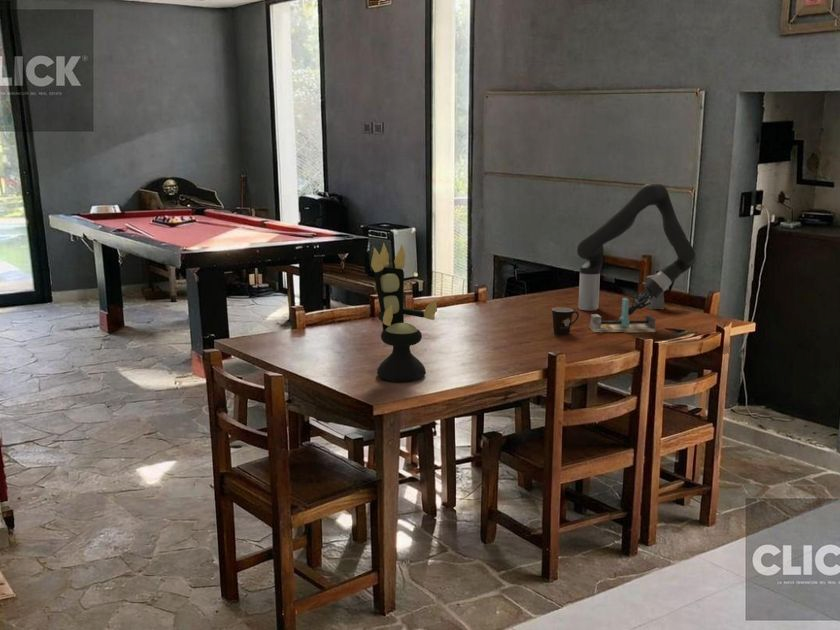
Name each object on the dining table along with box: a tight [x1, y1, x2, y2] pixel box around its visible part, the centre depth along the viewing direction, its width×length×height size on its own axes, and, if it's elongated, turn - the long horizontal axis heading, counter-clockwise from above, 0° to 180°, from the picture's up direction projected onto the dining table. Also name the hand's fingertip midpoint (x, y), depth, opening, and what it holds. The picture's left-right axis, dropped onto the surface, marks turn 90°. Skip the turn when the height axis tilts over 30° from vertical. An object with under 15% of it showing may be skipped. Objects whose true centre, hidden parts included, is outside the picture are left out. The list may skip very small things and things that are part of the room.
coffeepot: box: [643, 270, 676, 310], centre depth 400 cm, size 15×9×18 cm, turn 98°
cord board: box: [588, 313, 656, 334], centre depth 357 cm, size 26×8×6 cm, turn 94°
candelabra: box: [370, 242, 438, 383], centre depth 287 cm, size 19×22×45 cm
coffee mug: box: [551, 307, 580, 336], centre depth 351 cm, size 12×9×10 cm
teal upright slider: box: [618, 297, 631, 327], centre depth 356 cm, size 3×4×12 cm
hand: (627, 313), depth 356 cm, fingers closed
